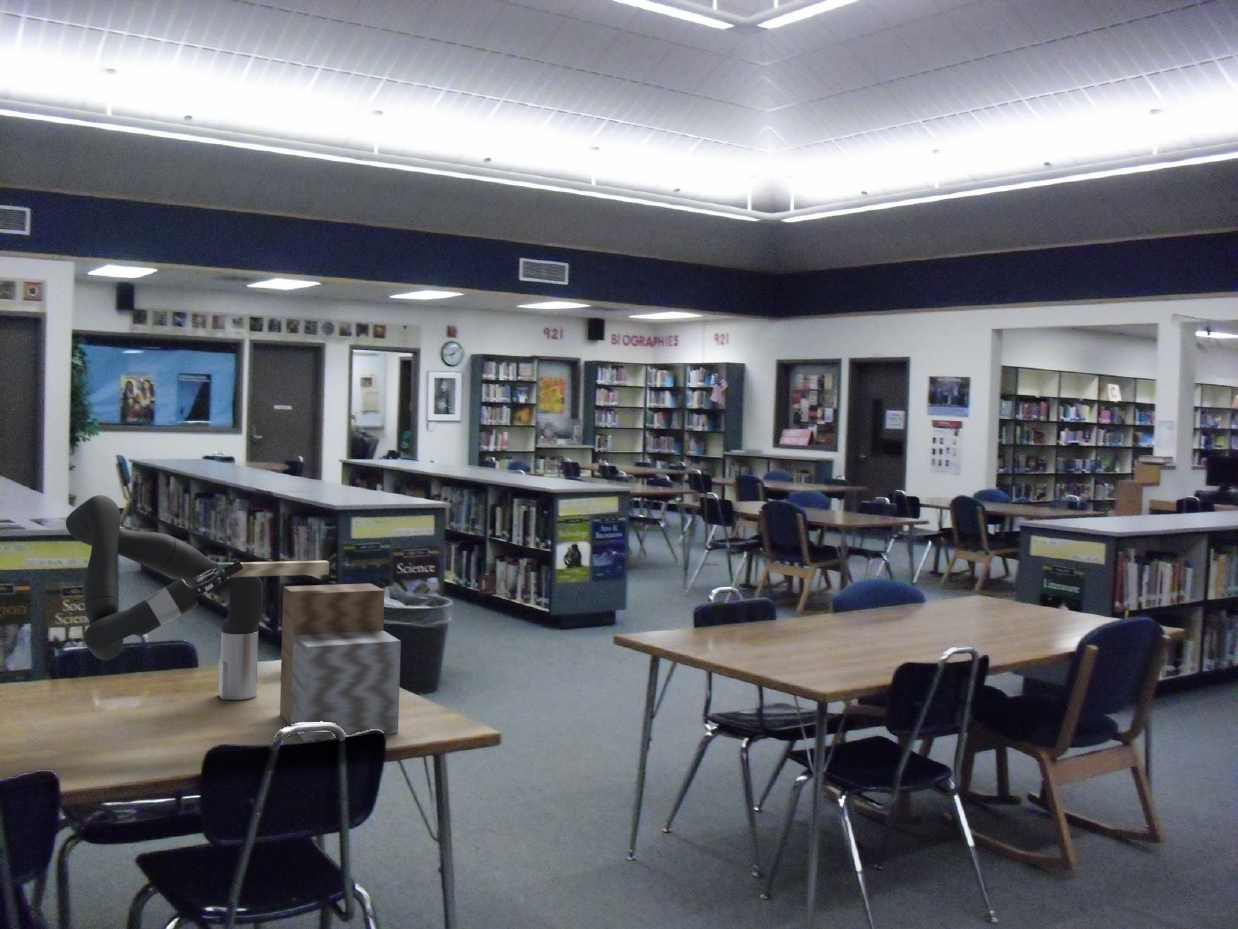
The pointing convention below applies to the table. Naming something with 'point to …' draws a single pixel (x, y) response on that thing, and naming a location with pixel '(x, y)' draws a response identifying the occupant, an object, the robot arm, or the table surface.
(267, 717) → the table surface
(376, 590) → the pedestal
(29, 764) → the table surface
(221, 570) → the robot arm
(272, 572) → the beech bar
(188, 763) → the table surface
